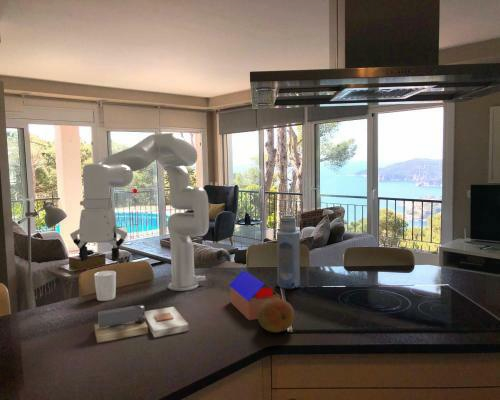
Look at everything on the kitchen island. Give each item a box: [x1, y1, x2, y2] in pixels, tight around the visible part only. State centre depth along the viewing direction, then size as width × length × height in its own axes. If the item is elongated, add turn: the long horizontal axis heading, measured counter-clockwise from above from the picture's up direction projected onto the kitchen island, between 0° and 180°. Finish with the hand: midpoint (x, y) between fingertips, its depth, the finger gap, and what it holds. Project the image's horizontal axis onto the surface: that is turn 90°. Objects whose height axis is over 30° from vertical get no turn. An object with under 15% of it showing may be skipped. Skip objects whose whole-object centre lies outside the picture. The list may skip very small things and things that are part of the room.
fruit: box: [257, 298, 295, 333], centre depth 119 cm, size 12×13×10 cm
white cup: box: [94, 270, 117, 302], centre depth 153 cm, size 8×8×10 cm
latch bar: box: [97, 304, 146, 328], centre depth 120 cm, size 14×3×5 cm, turn 116°
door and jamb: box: [93, 306, 190, 344], centre depth 123 cm, size 26×18×2 cm
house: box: [229, 269, 281, 321], centre depth 138 cm, size 12×20×12 cm, turn 21°
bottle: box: [276, 214, 301, 289], centre depth 165 cm, size 10×10×30 cm
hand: (99, 260), depth 120 cm, fingers open, 9 cm apart
